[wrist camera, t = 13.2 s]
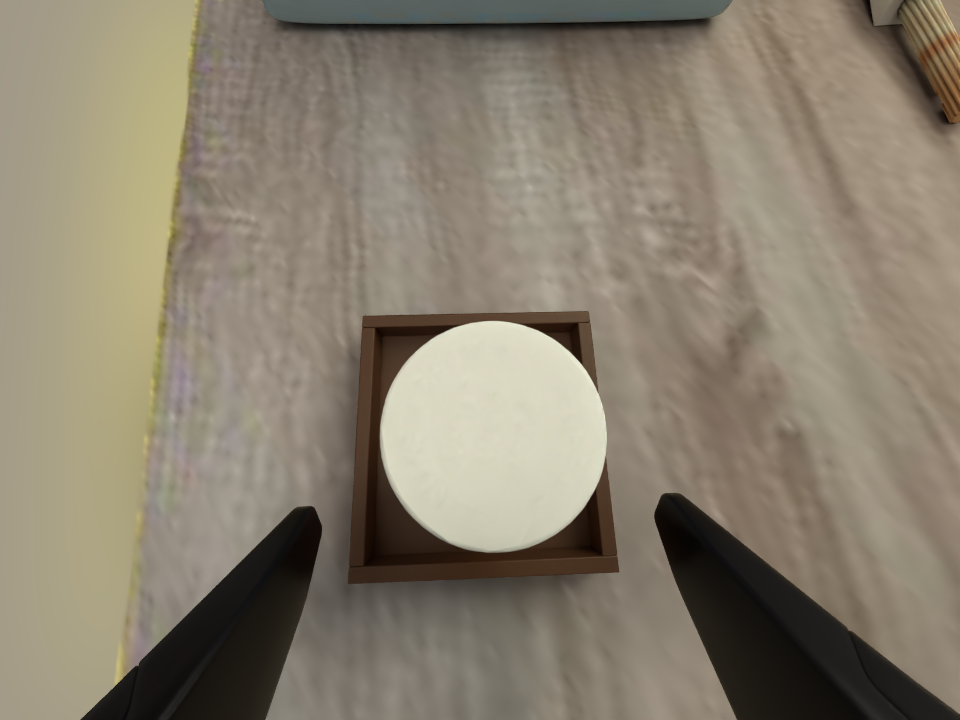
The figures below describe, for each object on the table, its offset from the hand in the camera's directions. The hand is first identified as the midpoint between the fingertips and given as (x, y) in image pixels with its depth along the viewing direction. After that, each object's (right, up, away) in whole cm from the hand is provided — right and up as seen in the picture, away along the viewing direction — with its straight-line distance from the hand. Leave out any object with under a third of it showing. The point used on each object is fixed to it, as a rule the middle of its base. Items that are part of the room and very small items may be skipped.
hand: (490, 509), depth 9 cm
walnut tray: (0, 0, +10) cm, 10 cm away
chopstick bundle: (+34, +31, +19) cm, 50 cm away
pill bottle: (0, 0, +10) cm, 10 cm away
